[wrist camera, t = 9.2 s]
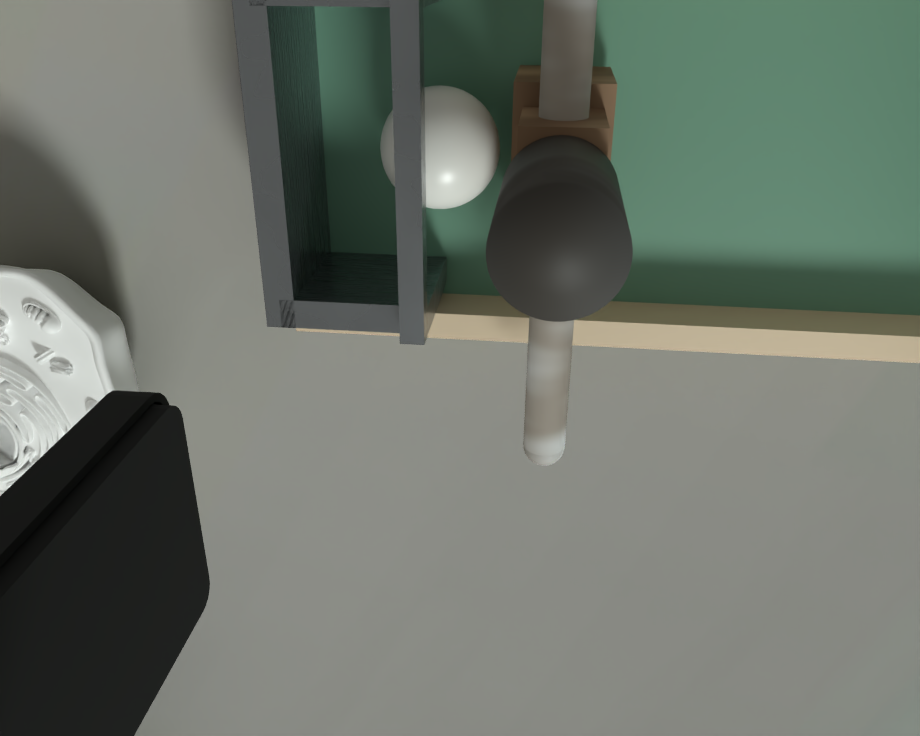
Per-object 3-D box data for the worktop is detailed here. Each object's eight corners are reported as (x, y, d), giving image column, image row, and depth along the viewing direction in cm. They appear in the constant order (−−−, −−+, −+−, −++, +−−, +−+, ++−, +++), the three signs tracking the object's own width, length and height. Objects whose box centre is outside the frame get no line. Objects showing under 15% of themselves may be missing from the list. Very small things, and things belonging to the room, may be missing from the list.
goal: (445, -36, 27) (418, -32, 22) (446, 281, 32) (424, 345, 27) (282, -37, 28) (217, -34, 22) (307, 275, 33) (259, 336, 27)
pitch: (1255, -86, 25) (1342, -90, 22) (1092, 336, 31) (1145, 374, 29) (288, -87, 28) (257, -91, 25) (318, 299, 34) (296, 330, 31)
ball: (446, 74, 29) (527, 87, 27) (446, 186, 31) (522, 208, 29) (353, 84, 27) (432, 100, 24) (359, 205, 29) (433, 231, 26)
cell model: (220, 316, 35) (149, 392, 29) (107, 494, 40) (27, 589, 34) (3, 172, 33) (-119, 221, 27) (-86, 377, 39) (-207, 457, 33)
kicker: (635, -193, 24) (690, -305, 14) (586, 390, 33) (597, 600, 22) (526, -192, 25) (496, -300, 14) (506, 385, 33) (479, 590, 23)
